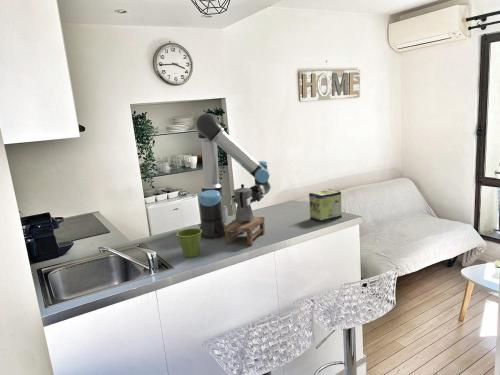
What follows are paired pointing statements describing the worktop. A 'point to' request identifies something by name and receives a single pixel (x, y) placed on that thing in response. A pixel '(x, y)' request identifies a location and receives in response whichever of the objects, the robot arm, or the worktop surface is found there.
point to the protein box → (325, 205)
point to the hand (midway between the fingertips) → (239, 202)
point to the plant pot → (190, 241)
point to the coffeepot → (243, 204)
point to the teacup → (224, 213)
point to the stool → (244, 229)
